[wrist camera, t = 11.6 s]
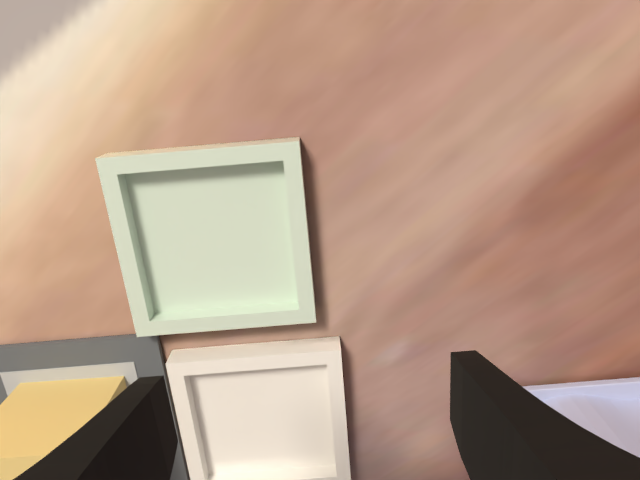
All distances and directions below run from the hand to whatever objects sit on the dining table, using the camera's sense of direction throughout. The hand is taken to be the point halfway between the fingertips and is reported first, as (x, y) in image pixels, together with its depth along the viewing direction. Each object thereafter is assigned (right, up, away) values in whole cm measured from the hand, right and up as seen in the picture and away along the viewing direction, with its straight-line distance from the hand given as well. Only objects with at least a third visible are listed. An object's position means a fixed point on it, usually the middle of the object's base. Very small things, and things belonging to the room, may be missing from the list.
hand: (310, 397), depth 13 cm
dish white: (-2, -5, +13) cm, 14 cm away
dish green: (-4, +4, +9) cm, 11 cm away
